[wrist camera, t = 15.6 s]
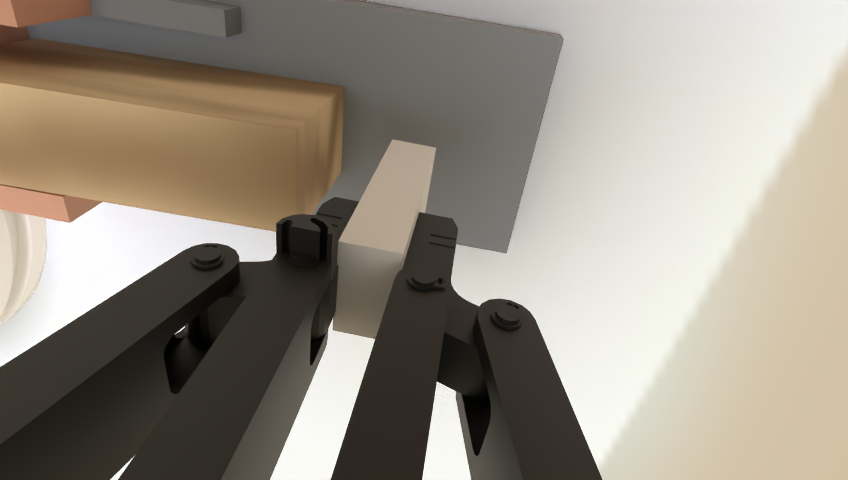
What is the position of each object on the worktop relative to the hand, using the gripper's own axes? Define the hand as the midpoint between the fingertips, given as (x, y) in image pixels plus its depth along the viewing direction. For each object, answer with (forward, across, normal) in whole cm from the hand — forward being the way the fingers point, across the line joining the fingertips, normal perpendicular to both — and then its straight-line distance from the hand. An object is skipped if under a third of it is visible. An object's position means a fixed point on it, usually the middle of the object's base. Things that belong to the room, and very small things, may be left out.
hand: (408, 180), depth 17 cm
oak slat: (+5, -11, -1) cm, 12 cm away
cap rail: (+7, -7, -1) cm, 10 cm away
